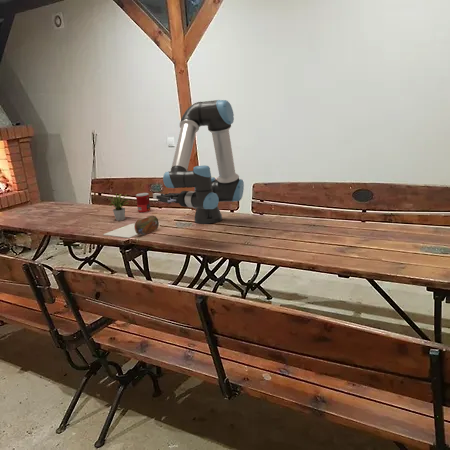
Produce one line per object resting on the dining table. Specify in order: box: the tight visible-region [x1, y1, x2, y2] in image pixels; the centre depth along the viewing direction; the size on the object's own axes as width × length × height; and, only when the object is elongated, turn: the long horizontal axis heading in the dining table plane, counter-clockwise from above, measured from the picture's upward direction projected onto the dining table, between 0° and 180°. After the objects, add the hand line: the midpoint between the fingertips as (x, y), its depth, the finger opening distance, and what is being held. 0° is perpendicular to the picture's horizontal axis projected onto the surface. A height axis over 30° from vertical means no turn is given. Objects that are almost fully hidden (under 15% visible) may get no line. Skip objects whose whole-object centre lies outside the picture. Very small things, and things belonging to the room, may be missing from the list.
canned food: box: [135, 192, 152, 213], centre depth 287 cm, size 8×8×11 cm
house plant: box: [107, 192, 131, 221], centre depth 269 cm, size 14×14×16 cm
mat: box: [102, 223, 139, 239], centre depth 244 cm, size 19×22×1 cm
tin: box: [134, 215, 159, 236], centre depth 237 cm, size 15×3×8 cm, turn 143°
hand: (154, 196), depth 228 cm, fingers closed
